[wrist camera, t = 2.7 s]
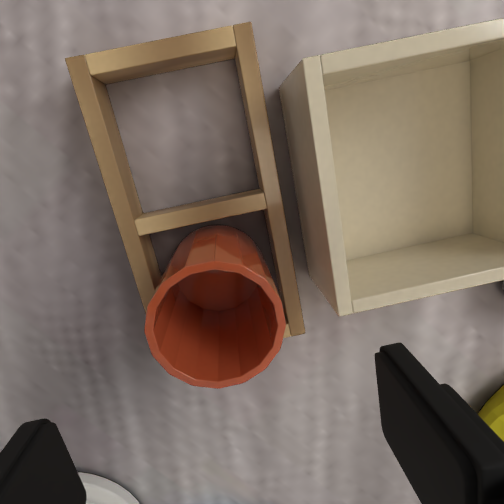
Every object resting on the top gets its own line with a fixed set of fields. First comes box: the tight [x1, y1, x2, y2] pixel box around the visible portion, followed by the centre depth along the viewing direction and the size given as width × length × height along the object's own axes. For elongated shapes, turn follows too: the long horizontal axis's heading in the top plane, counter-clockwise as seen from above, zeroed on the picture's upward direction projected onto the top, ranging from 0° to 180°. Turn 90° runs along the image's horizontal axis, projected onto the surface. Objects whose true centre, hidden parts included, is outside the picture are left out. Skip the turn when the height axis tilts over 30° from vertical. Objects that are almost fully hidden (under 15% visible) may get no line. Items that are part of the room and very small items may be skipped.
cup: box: [144, 225, 286, 389], centre depth 20 cm, size 6×6×8 cm
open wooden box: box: [279, 18, 504, 317], centre depth 20 cm, size 13×13×7 cm
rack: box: [65, 22, 305, 338], centre depth 22 cm, size 10×19×2 cm, turn 11°
